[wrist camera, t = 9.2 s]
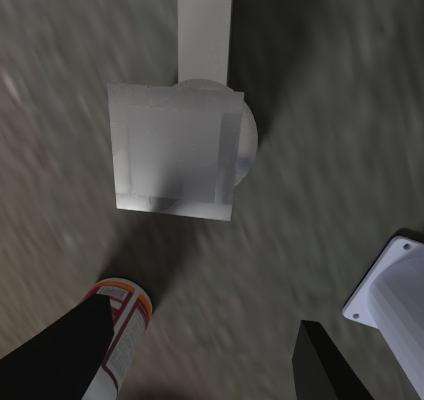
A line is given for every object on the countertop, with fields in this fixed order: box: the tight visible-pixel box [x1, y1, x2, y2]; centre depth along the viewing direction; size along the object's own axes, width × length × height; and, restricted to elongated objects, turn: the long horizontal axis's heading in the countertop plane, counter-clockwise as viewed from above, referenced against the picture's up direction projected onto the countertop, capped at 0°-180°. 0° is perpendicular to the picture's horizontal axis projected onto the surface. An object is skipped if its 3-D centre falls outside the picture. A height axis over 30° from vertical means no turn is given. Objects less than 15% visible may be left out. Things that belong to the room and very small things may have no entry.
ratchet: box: [171, 0, 258, 186], centre depth 13 cm, size 19×7×5 cm, turn 178°
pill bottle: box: [78, 278, 152, 400], centre depth 18 cm, size 6×6×11 cm
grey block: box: [107, 83, 244, 221], centre depth 12 cm, size 5×5×6 cm
